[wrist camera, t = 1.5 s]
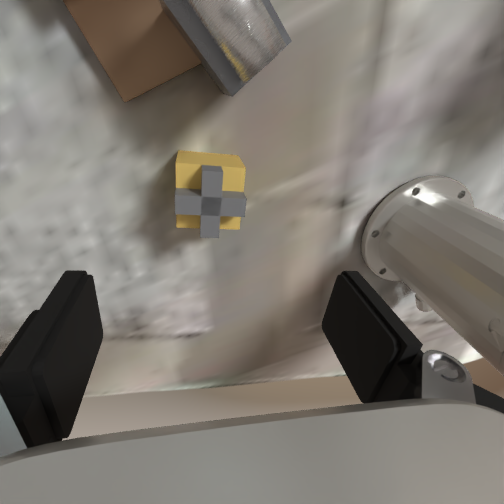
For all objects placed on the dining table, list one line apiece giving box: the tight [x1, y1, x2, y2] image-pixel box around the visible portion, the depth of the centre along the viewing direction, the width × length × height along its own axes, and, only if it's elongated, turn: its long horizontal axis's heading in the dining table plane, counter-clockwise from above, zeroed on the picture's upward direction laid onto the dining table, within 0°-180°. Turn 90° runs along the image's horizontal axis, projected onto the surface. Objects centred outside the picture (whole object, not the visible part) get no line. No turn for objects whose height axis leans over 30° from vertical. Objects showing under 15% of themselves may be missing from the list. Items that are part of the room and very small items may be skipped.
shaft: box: [159, 0, 291, 96], centre depth 16 cm, size 7×4×9 cm, turn 38°
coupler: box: [175, 150, 247, 238], centre depth 23 cm, size 5×5×6 cm
